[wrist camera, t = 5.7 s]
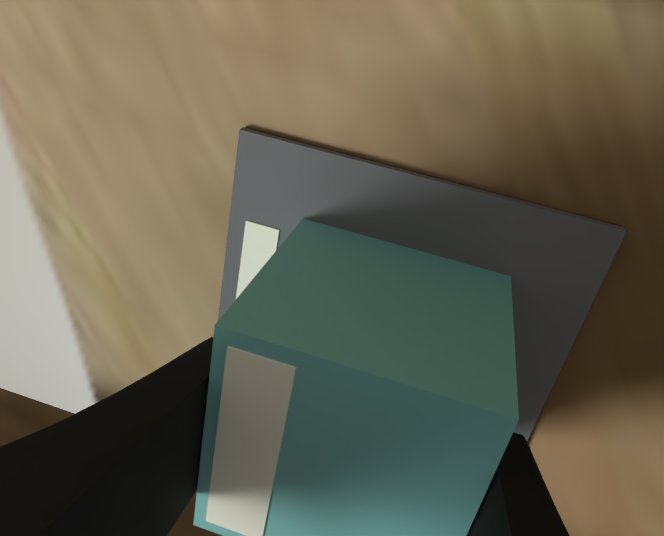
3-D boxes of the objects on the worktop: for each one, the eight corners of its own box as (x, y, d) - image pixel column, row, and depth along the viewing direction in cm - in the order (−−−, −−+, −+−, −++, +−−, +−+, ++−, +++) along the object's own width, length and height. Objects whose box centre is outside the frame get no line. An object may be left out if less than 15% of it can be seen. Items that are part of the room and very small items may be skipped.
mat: (495, 502, 15) (495, 510, 15) (211, 408, 16) (207, 413, 16) (624, 227, 11) (627, 232, 11) (243, 127, 12) (238, 129, 12)
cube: (511, 276, 12) (518, 422, 8) (449, 436, 14) (431, 614, 10) (303, 217, 13) (213, 326, 9) (273, 380, 15) (192, 527, 11)
